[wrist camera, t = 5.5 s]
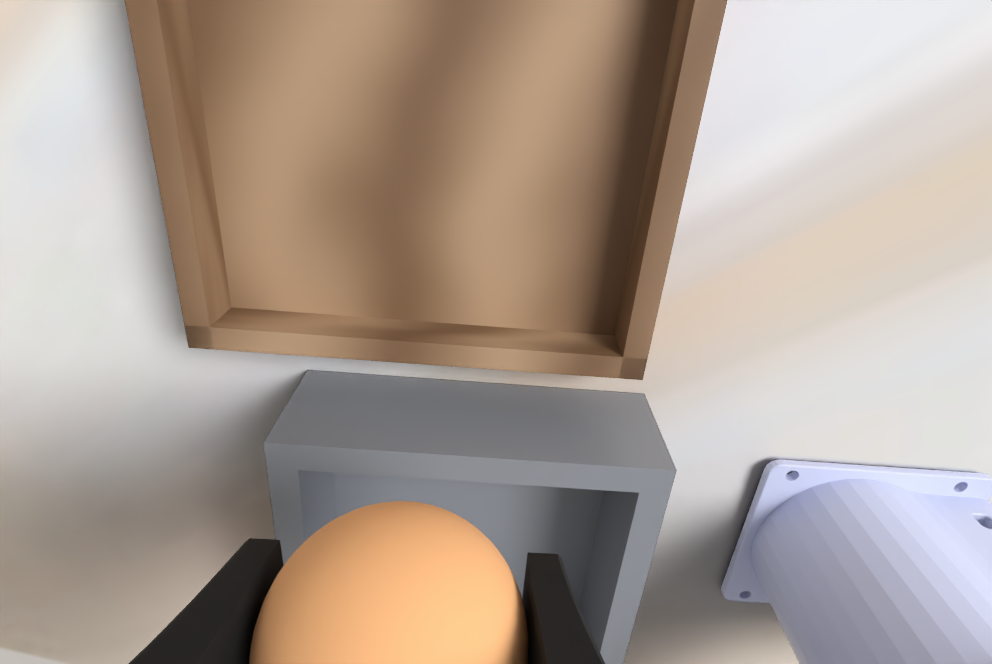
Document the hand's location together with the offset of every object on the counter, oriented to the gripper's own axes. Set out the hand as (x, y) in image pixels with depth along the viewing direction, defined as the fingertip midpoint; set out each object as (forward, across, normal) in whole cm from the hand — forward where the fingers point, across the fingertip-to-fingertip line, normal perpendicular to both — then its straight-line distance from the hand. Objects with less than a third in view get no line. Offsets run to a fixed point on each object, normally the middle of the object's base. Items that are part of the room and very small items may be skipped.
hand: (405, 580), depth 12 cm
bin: (+10, -1, +8) cm, 13 cm away
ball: (-1, 0, 0) cm, 1 cm away
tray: (+10, +1, -7) cm, 13 cm away
